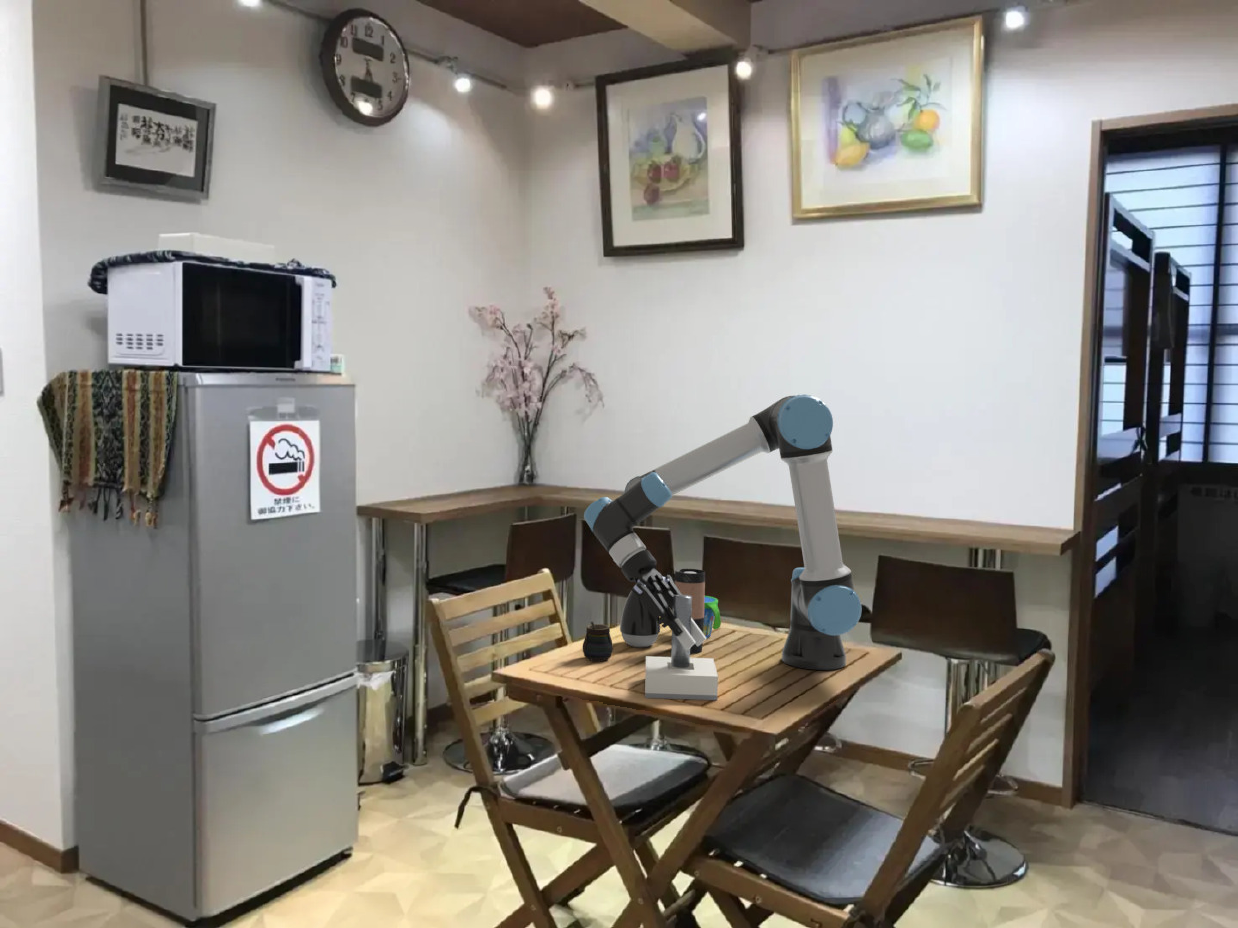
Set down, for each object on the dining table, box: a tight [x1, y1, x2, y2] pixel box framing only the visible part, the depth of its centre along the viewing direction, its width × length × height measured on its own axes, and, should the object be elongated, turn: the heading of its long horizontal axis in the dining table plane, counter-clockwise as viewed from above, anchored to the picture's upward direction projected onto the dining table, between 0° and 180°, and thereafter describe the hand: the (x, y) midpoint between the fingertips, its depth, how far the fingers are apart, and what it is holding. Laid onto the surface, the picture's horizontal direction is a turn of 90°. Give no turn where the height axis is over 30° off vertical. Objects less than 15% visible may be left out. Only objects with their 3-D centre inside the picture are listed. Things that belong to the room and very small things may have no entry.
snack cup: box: [703, 595, 722, 639], centre depth 266 cm, size 16×10×10 cm
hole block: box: [644, 655, 719, 701], centre depth 215 cm, size 15×15×5 cm
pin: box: [670, 595, 692, 668], centre depth 215 cm, size 4×4×15 cm
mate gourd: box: [582, 621, 614, 662], centre depth 239 cm, size 7×8×10 cm
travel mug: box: [674, 568, 706, 655], centre depth 250 cm, size 8×8×20 cm
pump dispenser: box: [619, 590, 661, 648], centre depth 254 cm, size 10×10×15 cm
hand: (696, 644), depth 213 cm, fingers closed on pin, 4 cm apart
